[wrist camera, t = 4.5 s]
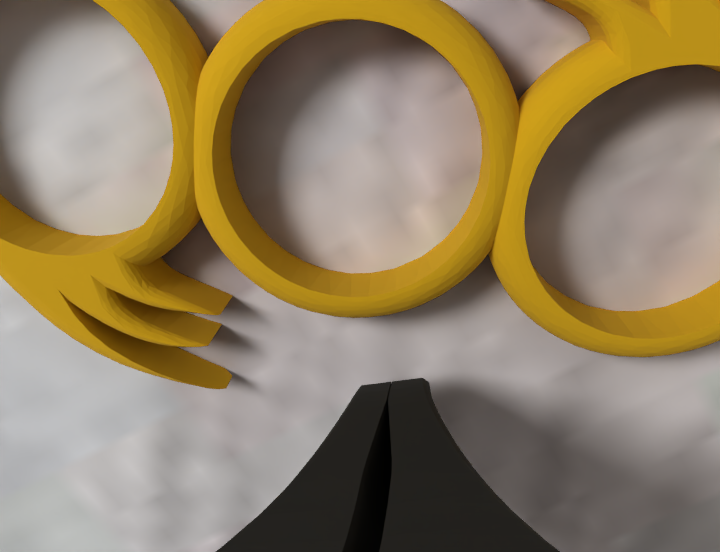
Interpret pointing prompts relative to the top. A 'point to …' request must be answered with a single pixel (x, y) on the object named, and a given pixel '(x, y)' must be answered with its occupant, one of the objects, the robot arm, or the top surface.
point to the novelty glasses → (331, 288)
